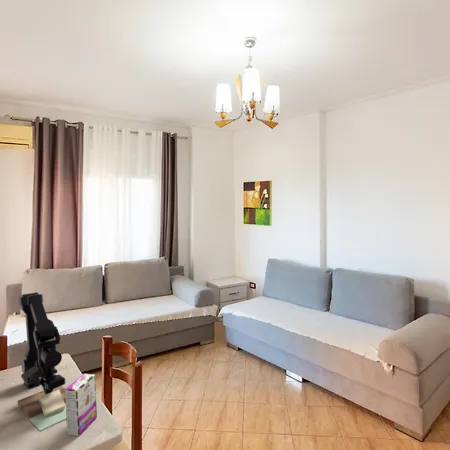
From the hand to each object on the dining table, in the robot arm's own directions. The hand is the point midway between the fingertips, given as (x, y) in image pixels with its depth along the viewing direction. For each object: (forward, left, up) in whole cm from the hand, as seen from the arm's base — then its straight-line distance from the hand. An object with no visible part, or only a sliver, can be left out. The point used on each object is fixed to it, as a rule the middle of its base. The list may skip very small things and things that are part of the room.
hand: (48, 397), depth 136 cm
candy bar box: (+21, +3, -4) cm, 22 cm away
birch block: (+4, 0, -1) cm, 4 cm away
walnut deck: (-3, 0, -4) cm, 5 cm away
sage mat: (+8, 0, -4) cm, 9 cm away
